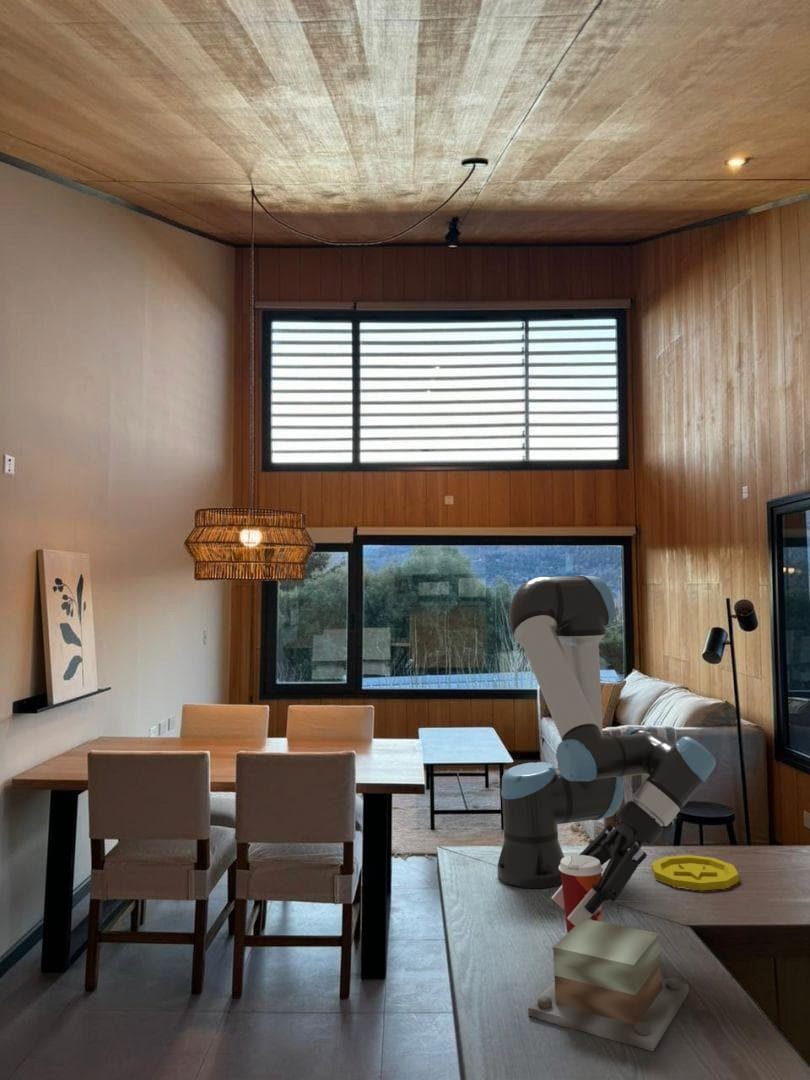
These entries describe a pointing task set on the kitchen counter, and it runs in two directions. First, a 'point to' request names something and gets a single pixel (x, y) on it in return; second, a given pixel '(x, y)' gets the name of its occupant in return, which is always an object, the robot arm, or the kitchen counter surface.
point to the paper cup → (579, 882)
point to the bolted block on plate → (610, 985)
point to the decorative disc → (695, 872)
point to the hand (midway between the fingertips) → (565, 913)
